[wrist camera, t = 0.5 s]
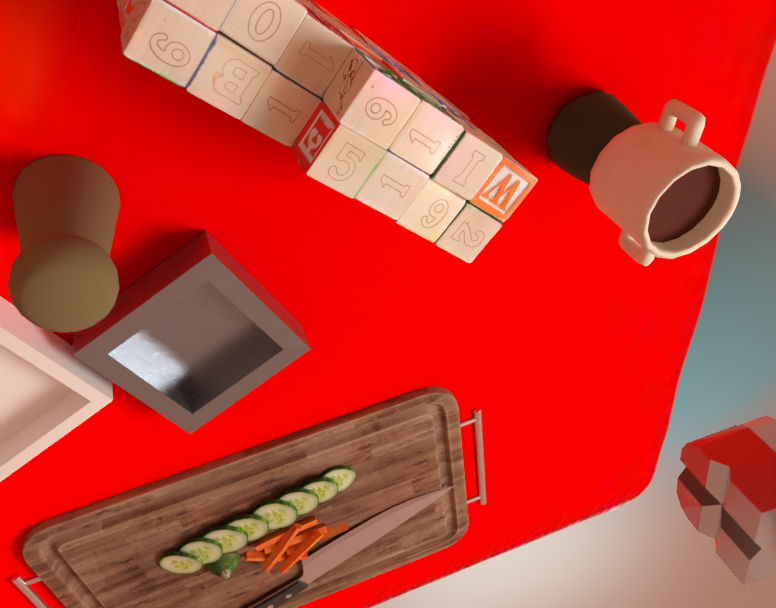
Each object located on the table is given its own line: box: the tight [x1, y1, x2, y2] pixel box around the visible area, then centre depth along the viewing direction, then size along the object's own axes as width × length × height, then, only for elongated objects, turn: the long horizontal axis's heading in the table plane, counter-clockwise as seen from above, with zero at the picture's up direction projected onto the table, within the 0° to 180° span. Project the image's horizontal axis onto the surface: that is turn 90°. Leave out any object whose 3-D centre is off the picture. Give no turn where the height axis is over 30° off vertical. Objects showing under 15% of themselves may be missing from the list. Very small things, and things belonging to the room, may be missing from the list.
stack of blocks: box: [117, 0, 538, 263], centre depth 38 cm, size 21×6×12 cm, turn 51°
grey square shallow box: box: [73, 230, 311, 434], centre depth 51 cm, size 12×12×3 cm
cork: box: [8, 155, 120, 333], centre depth 39 cm, size 6×6×11 cm
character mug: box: [547, 92, 741, 266], centre depth 48 cm, size 11×7×13 cm, turn 174°
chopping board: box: [11, 387, 486, 608], centre depth 69 cm, size 45×27×3 cm, turn 97°
